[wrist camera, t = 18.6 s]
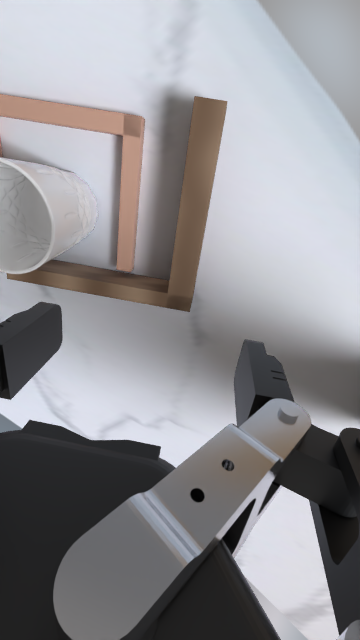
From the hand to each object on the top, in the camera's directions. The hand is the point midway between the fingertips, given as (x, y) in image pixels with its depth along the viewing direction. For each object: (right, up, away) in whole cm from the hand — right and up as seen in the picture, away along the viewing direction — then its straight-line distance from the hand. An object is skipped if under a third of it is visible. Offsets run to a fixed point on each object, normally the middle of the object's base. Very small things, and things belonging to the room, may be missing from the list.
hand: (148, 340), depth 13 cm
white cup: (-10, +12, +17) cm, 23 cm away
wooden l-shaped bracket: (-5, +13, +16) cm, 21 cm away
